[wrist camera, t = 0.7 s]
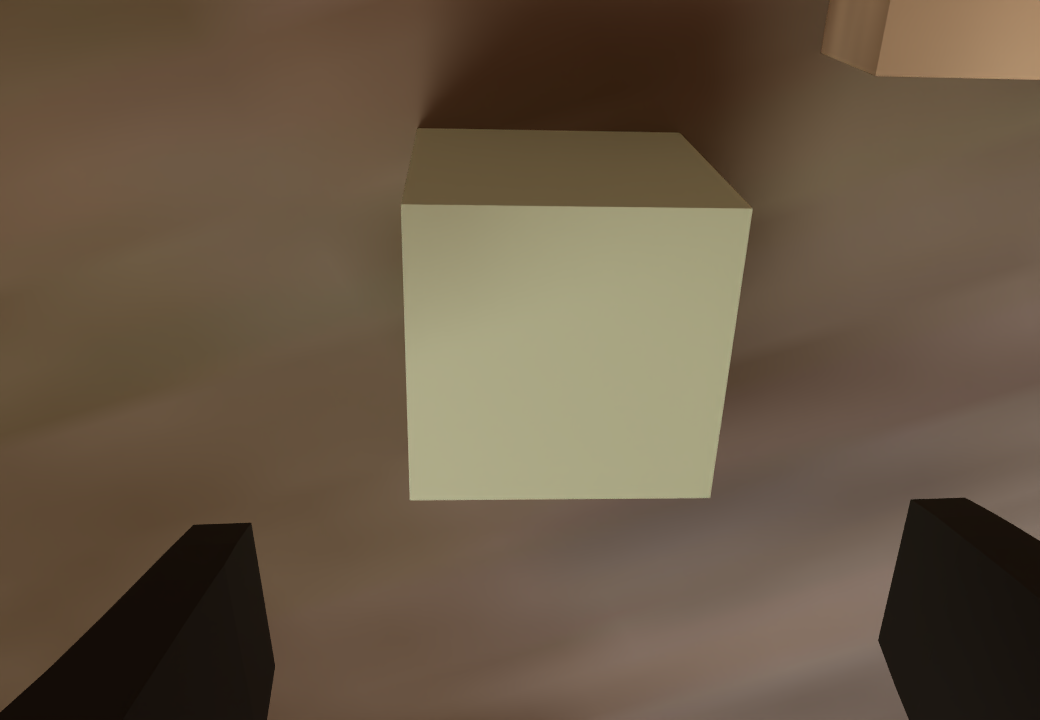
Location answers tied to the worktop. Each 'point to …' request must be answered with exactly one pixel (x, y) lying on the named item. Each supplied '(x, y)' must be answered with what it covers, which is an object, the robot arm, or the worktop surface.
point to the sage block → (566, 313)
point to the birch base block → (936, 37)
